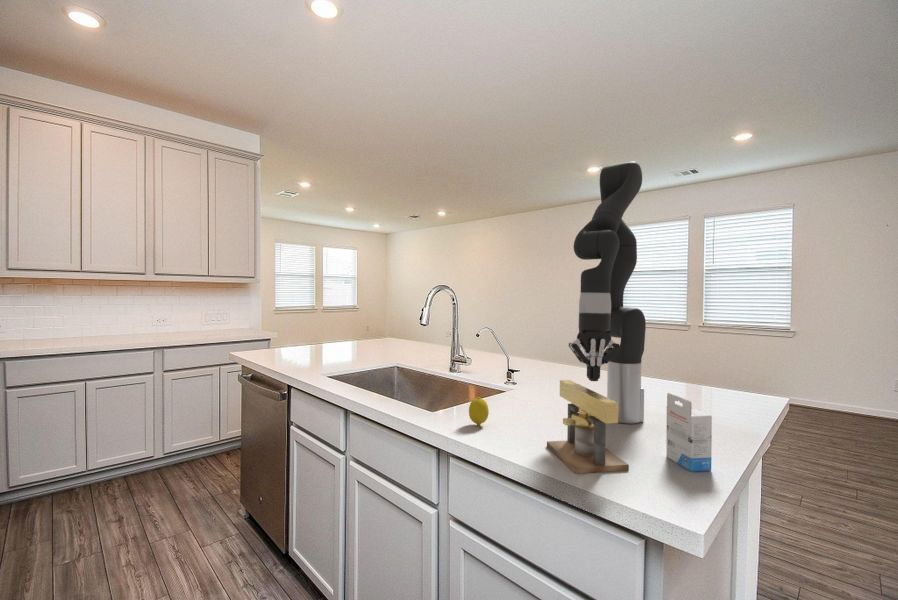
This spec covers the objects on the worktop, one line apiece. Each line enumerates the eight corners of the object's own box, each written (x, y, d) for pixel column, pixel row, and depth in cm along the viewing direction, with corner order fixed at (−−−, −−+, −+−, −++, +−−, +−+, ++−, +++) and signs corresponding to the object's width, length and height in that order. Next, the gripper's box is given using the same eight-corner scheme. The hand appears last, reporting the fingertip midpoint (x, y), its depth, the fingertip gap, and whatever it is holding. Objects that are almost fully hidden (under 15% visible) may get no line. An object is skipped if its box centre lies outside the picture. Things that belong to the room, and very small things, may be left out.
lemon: (487, 429, 110) (487, 400, 110) (467, 427, 111) (467, 399, 111) (489, 423, 115) (489, 395, 115) (470, 421, 117) (470, 394, 116)
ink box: (712, 471, 85) (713, 401, 84) (690, 472, 84) (691, 401, 84) (685, 455, 93) (686, 391, 93) (665, 456, 93) (665, 392, 92)
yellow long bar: (582, 409, 103) (583, 379, 103) (634, 441, 81) (635, 402, 81) (545, 411, 101) (545, 380, 101) (588, 443, 80) (588, 404, 80)
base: (593, 444, 100) (593, 402, 100) (628, 470, 85) (629, 421, 85) (546, 446, 98) (547, 403, 98) (575, 473, 83) (575, 423, 83)
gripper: (611, 311, 105) (609, 377, 105) (563, 310, 103) (561, 377, 103) (628, 312, 98) (626, 383, 98) (576, 311, 96) (574, 384, 96)
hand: (593, 380), depth 101 cm, fingers closed
